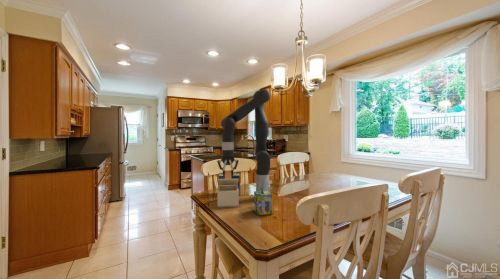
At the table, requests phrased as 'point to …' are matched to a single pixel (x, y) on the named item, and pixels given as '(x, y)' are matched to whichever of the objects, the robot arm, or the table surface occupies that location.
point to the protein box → (234, 176)
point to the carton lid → (228, 179)
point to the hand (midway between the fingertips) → (228, 175)
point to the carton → (228, 196)
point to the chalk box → (262, 202)
